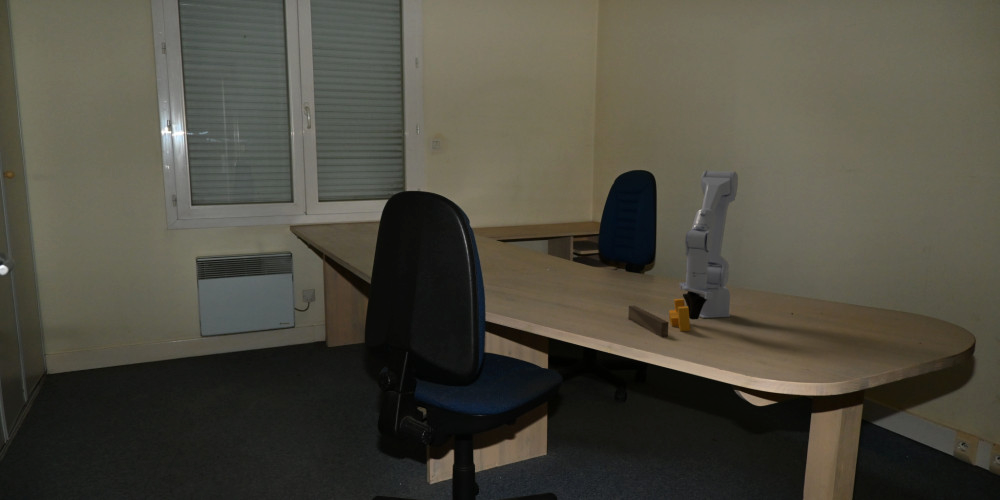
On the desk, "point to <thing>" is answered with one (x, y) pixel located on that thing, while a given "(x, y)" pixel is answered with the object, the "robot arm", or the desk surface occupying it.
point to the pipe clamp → (680, 315)
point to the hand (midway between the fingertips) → (693, 318)
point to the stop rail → (648, 321)
